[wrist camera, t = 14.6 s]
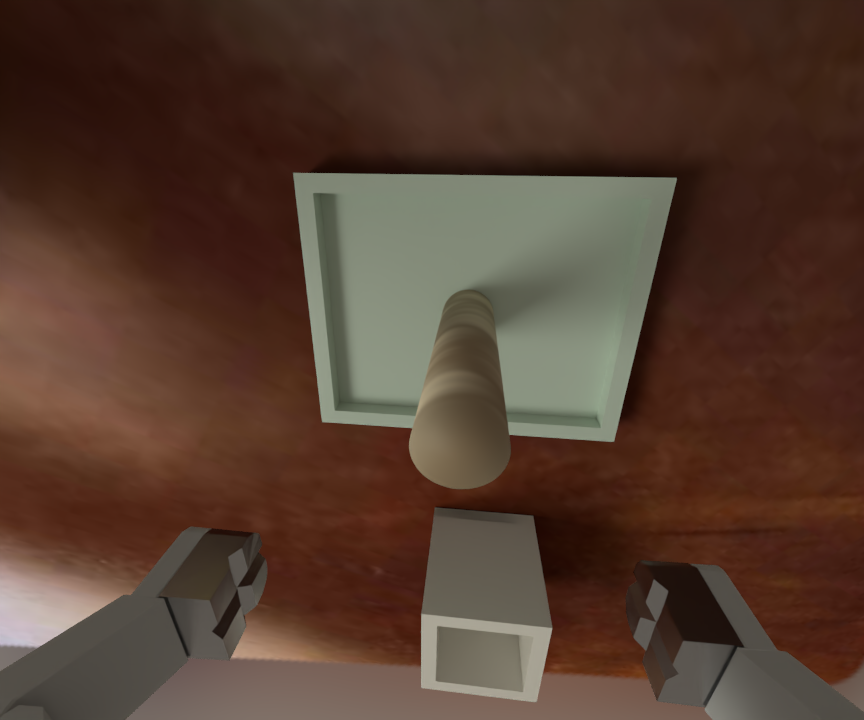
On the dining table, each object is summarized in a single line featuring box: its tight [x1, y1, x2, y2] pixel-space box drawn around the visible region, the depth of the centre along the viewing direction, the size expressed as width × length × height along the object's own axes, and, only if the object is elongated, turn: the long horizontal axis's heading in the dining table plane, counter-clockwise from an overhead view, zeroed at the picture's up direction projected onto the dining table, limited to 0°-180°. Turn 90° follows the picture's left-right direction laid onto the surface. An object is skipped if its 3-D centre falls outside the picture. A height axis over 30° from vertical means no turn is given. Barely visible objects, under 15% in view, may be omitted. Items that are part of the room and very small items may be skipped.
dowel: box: [409, 290, 511, 489], centre depth 19 cm, size 3×3×14 cm
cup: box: [421, 507, 552, 702], centre depth 30 cm, size 8×8×9 cm
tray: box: [293, 173, 677, 442], centre depth 25 cm, size 20×16×2 cm
